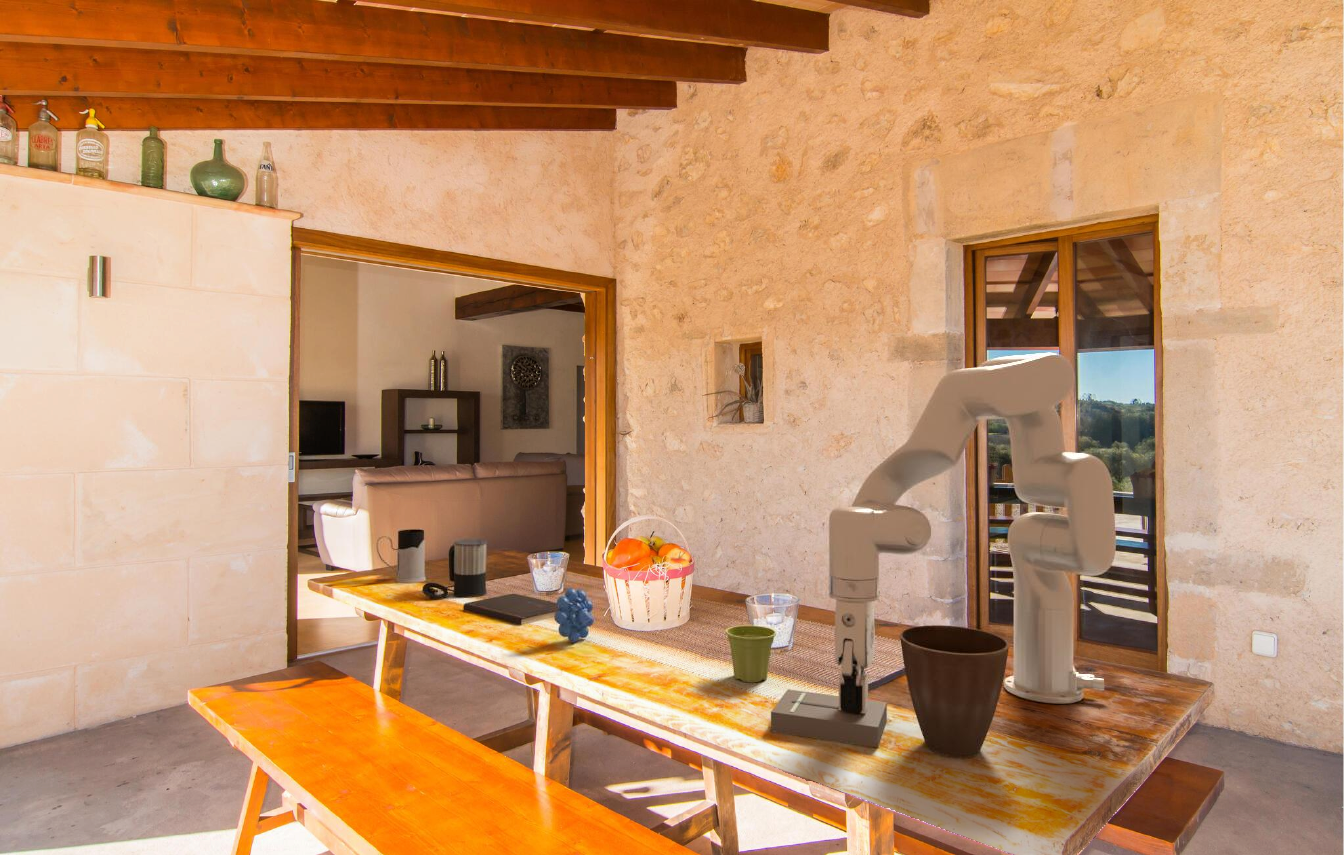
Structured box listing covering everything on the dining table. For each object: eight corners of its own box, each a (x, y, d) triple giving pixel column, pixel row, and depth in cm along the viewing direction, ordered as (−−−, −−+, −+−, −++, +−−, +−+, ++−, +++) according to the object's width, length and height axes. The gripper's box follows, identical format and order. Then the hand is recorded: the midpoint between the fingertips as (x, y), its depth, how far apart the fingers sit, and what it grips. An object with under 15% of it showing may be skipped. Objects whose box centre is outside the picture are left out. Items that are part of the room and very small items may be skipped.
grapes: (570, 651, 160) (570, 594, 160) (547, 646, 164) (547, 590, 164) (607, 639, 169) (607, 584, 169) (584, 634, 173) (584, 581, 173)
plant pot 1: (724, 669, 149) (724, 624, 149) (773, 670, 148) (773, 624, 148) (726, 685, 139) (726, 637, 139) (778, 686, 139) (778, 638, 139)
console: (886, 721, 123) (886, 701, 123) (878, 747, 112) (878, 726, 112) (787, 707, 129) (787, 688, 129) (770, 731, 118) (770, 711, 118)
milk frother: (494, 592, 217) (494, 540, 217) (456, 604, 203) (456, 547, 203) (454, 588, 223) (454, 536, 223) (414, 599, 209) (415, 544, 209)
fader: (867, 706, 120) (868, 674, 120) (865, 713, 117) (865, 680, 117) (841, 703, 121) (841, 671, 121) (838, 709, 118) (838, 677, 118)
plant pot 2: (1029, 768, 106) (1030, 651, 106) (924, 772, 104) (924, 654, 104) (977, 726, 121) (978, 624, 121) (884, 729, 119) (885, 625, 119)
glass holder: (426, 582, 232) (426, 532, 232) (375, 585, 227) (375, 534, 227) (426, 576, 240) (426, 528, 240) (377, 579, 235) (377, 530, 235)
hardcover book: (513, 601, 208) (513, 593, 208) (571, 615, 193) (571, 606, 193) (463, 612, 196) (463, 603, 196) (520, 628, 181) (520, 618, 181)
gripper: (871, 600, 110) (871, 729, 110) (884, 579, 125) (884, 693, 125) (818, 596, 113) (818, 721, 113) (838, 576, 128) (837, 687, 128)
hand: (853, 705), depth 119 cm, fingers closed on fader, 3 cm apart
